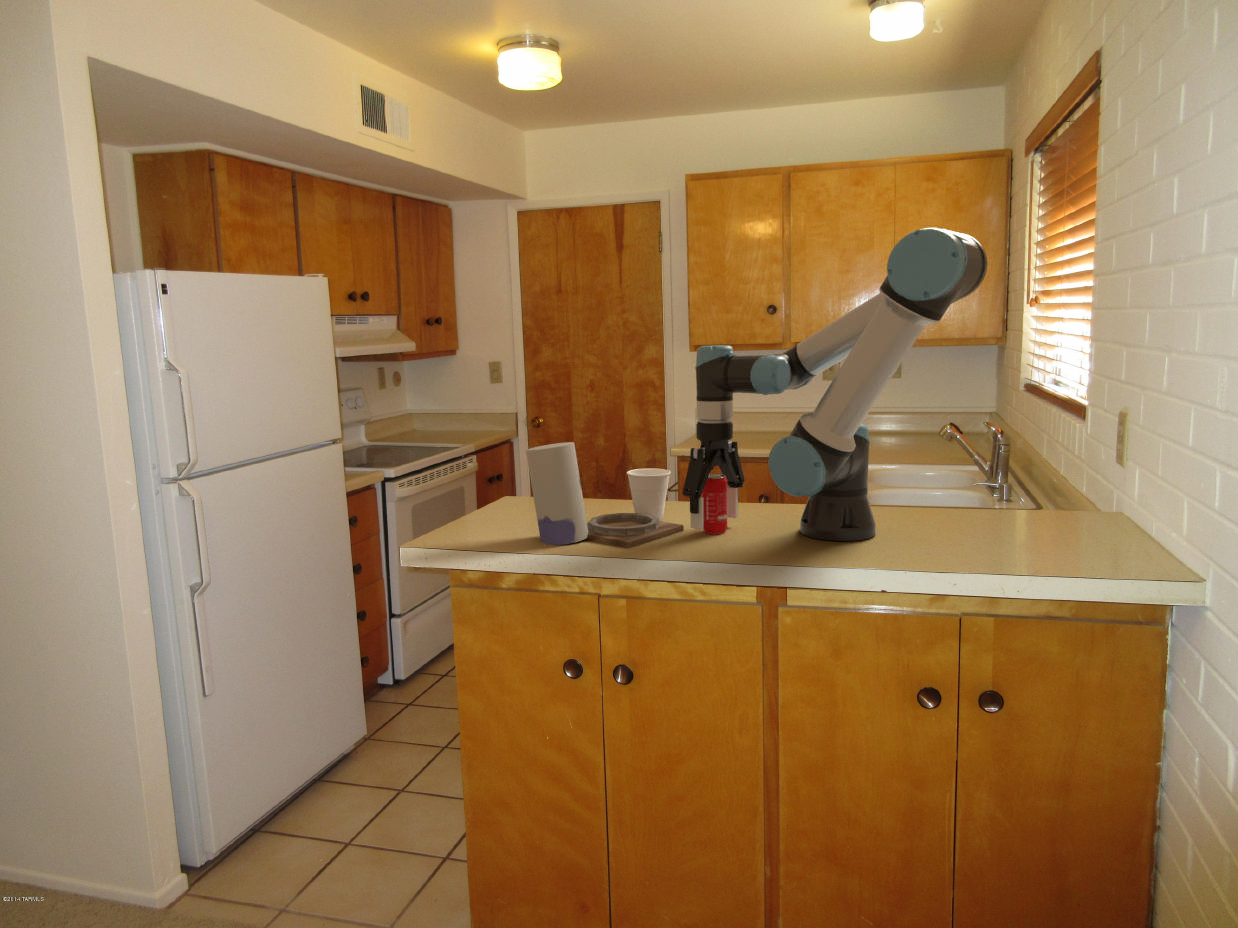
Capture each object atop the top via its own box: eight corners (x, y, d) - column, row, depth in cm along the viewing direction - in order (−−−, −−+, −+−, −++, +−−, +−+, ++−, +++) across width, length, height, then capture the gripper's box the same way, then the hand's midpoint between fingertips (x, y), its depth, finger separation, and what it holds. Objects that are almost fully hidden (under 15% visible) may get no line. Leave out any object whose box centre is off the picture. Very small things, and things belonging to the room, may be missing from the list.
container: (598, 534, 178) (583, 439, 176) (571, 546, 170) (555, 447, 168) (559, 535, 183) (545, 444, 181) (531, 547, 175) (515, 451, 173)
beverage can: (708, 535, 177) (707, 478, 175) (698, 530, 181) (698, 474, 180) (731, 533, 178) (731, 476, 176) (721, 528, 183) (721, 473, 181)
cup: (672, 524, 187) (671, 475, 185) (627, 525, 187) (626, 476, 186) (670, 514, 197) (670, 467, 195) (627, 515, 197) (626, 468, 196)
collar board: (683, 530, 181) (683, 518, 181) (628, 548, 168) (628, 534, 168) (619, 519, 193) (619, 507, 193) (563, 535, 180) (563, 522, 179)
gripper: (731, 414, 187) (731, 510, 191) (664, 425, 169) (665, 531, 173) (761, 416, 183) (760, 514, 186) (694, 427, 165) (695, 536, 168)
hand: (714, 522), depth 179 cm, fingers open, 12 cm apart
